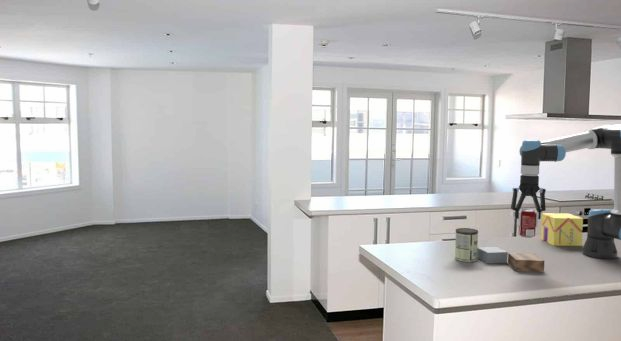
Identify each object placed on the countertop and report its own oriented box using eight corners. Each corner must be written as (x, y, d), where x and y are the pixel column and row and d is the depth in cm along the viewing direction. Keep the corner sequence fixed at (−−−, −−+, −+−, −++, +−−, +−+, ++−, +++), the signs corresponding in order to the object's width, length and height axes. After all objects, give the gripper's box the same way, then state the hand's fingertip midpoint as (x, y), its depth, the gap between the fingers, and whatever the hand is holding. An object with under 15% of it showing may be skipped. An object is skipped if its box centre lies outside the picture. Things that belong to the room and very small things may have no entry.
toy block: (581, 245, 264) (583, 218, 263) (553, 245, 264) (554, 218, 263) (567, 239, 279) (568, 213, 278) (540, 239, 279) (542, 213, 278)
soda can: (536, 238, 216) (537, 211, 215) (520, 237, 218) (521, 211, 217) (533, 235, 223) (534, 209, 222) (517, 234, 224) (518, 208, 223)
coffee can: (456, 255, 242) (457, 227, 241) (478, 257, 238) (479, 229, 237) (453, 260, 233) (454, 231, 232) (475, 263, 228) (476, 233, 227)
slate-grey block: (496, 256, 239) (496, 246, 239) (507, 262, 230) (507, 252, 229) (476, 257, 238) (477, 247, 238) (487, 263, 228) (487, 252, 228)
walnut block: (534, 264, 227) (535, 253, 226) (543, 272, 215) (544, 260, 214) (507, 263, 228) (508, 252, 228) (515, 270, 216) (515, 259, 216)
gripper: (550, 174, 220) (547, 225, 222) (504, 173, 223) (502, 223, 225) (556, 176, 213) (553, 228, 215) (508, 175, 215) (506, 227, 217)
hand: (527, 225), depth 220 cm, fingers closed on soda can, 7 cm apart
